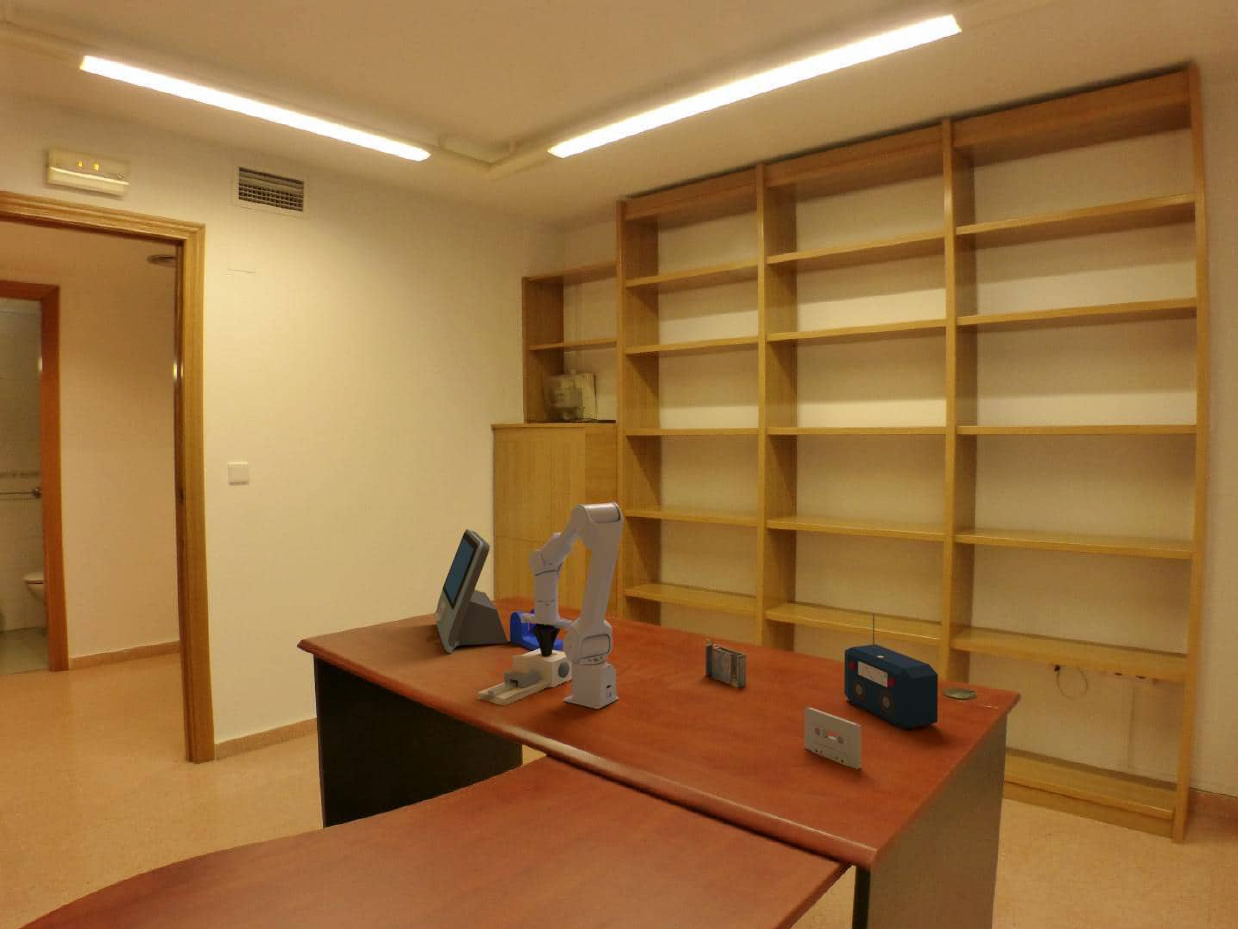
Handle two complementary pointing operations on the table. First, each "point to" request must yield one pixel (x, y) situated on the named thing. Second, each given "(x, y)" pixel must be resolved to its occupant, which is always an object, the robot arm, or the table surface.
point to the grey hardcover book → (725, 664)
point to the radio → (891, 685)
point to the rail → (503, 688)
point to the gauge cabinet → (551, 666)
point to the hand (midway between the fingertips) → (546, 655)
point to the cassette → (838, 748)
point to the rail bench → (512, 693)
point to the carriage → (521, 672)
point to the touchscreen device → (467, 600)
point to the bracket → (527, 633)
